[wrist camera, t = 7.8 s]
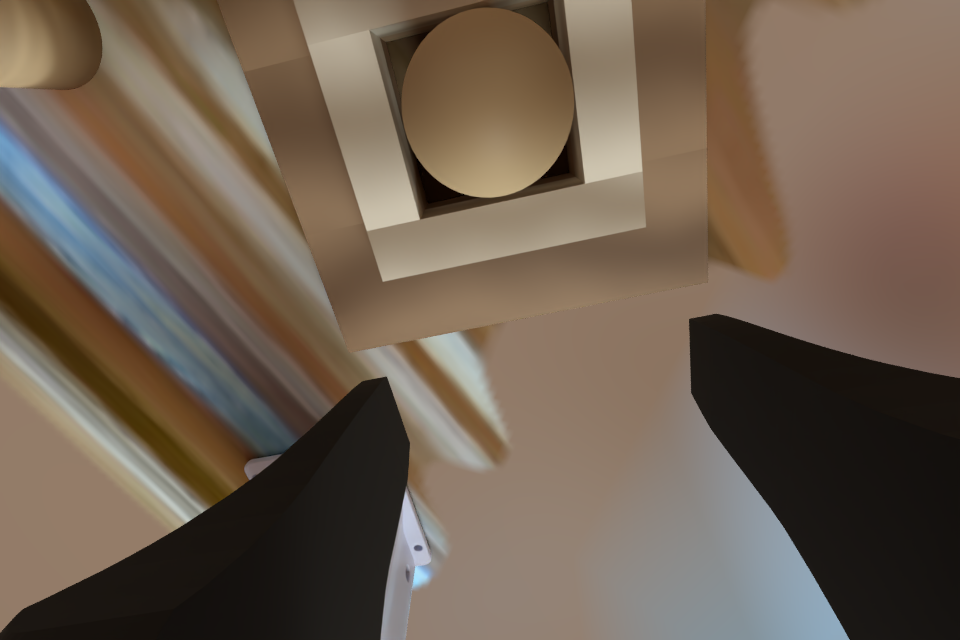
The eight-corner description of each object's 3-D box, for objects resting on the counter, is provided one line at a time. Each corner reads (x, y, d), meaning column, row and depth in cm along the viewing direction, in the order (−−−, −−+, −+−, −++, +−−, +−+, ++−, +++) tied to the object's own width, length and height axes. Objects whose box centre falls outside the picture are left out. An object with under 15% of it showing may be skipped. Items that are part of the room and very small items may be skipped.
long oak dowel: (540, 152, 19) (581, 180, 11) (443, 171, 19) (423, 211, 12) (526, 39, 17) (564, -12, 10) (420, 62, 17) (381, 28, 10)
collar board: (695, 273, 21) (728, 297, 18) (355, 340, 22) (338, 373, 19) (685, -253, 14) (736, -341, 11) (190, -112, 15) (128, -159, 13)
